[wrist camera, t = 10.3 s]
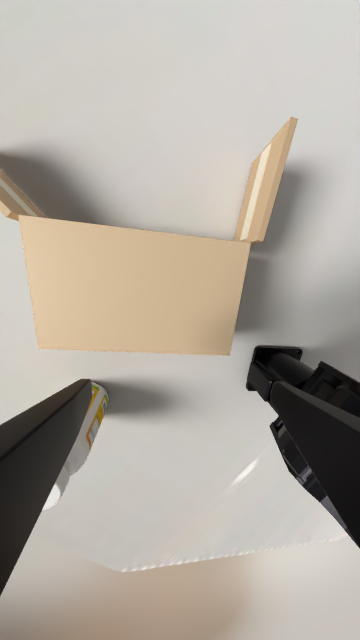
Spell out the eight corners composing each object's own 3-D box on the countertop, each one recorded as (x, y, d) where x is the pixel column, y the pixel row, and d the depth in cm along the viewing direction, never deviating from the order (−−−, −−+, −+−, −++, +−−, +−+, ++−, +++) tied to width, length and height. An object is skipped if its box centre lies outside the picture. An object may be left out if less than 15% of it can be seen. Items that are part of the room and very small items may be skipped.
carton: (225, 250, 18) (251, 243, 13) (212, 333, 21) (229, 355, 15) (64, 232, 16) (18, 214, 11) (73, 326, 19) (38, 348, 14)
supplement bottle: (55, 394, 21) (-31, 493, 12) (90, 372, 21) (31, 455, 11) (85, 421, 22) (31, 528, 13) (118, 401, 22) (86, 496, 13)
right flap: (236, 249, 18) (263, 241, 13) (230, 248, 18) (256, 239, 13) (257, 164, 16) (297, 119, 11) (251, 162, 16) (289, 116, 11)
